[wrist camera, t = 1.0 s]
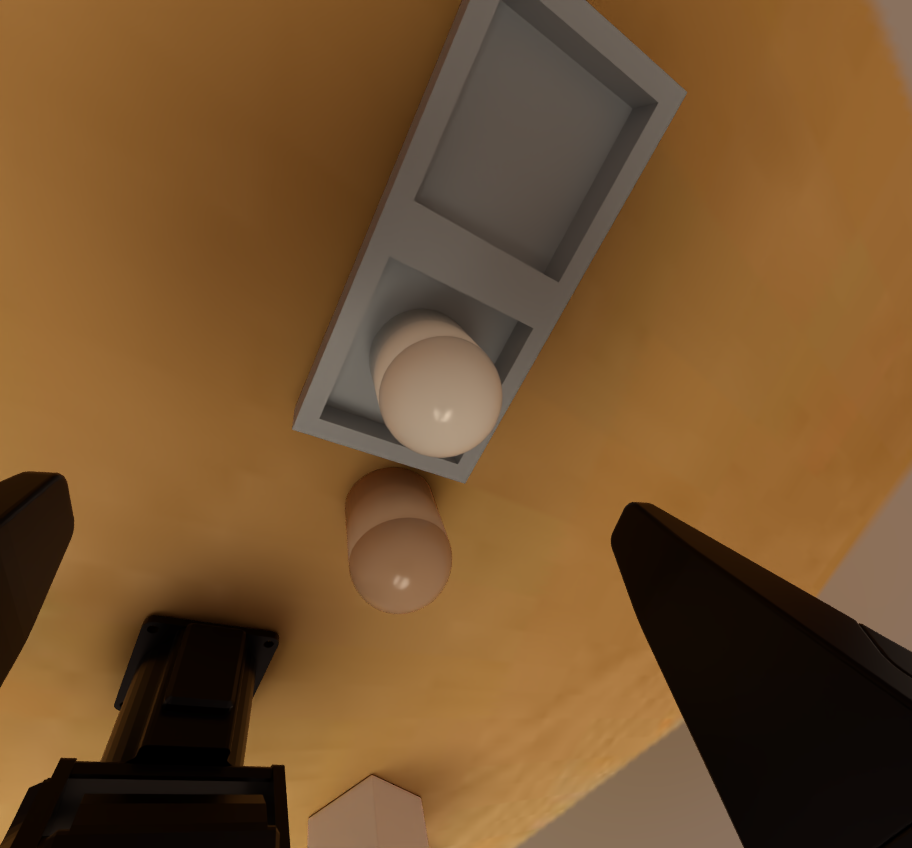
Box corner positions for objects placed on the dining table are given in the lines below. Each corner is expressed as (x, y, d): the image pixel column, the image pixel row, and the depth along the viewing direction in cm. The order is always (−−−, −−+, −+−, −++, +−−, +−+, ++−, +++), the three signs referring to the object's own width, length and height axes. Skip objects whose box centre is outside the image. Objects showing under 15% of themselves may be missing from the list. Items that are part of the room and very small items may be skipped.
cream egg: (442, 419, 22) (481, 495, 17) (352, 386, 20) (363, 459, 15) (487, 334, 21) (544, 387, 15) (395, 290, 19) (424, 333, 14)
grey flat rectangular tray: (454, 461, 24) (465, 483, 22) (294, 408, 20) (292, 429, 19) (653, 100, 18) (687, 92, 17) (481, -46, 15) (501, -76, 14)
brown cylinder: (410, 547, 25) (434, 644, 20) (331, 528, 24) (334, 629, 18) (446, 481, 24) (482, 566, 19) (366, 456, 22) (379, 542, 17)
